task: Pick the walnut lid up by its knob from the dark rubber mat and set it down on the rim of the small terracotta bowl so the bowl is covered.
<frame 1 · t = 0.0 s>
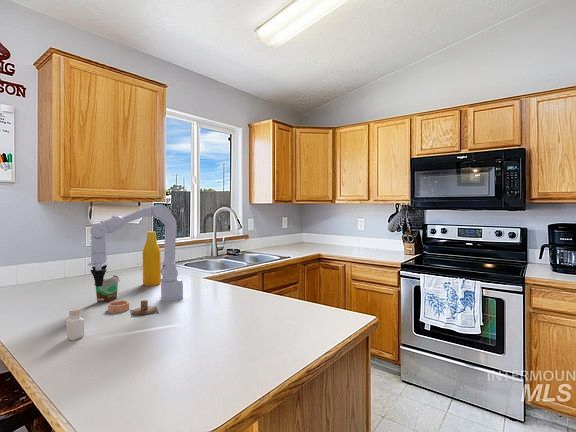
hand: (99, 284, 137), 10 cm above the counter, fingers open, 7 cm apart
food container: (110, 300, 150), on the counter
salt shaker: (75, 338, 107), on the counter
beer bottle: (152, 284, 180), on the counter
bowl: (118, 310, 134), on the counter
lid: (144, 311, 131), point 1 cm above the counter, touching mat
mat: (144, 313, 131), on the counter
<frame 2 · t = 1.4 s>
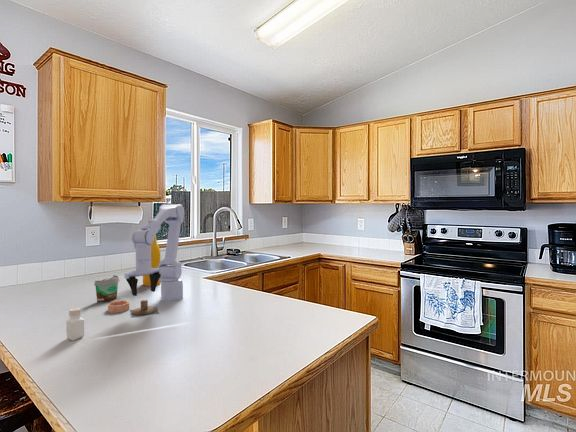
hand: (144, 293, 131), 8 cm above the counter, fingers open, 7 cm apart
nothing on the counter moved.
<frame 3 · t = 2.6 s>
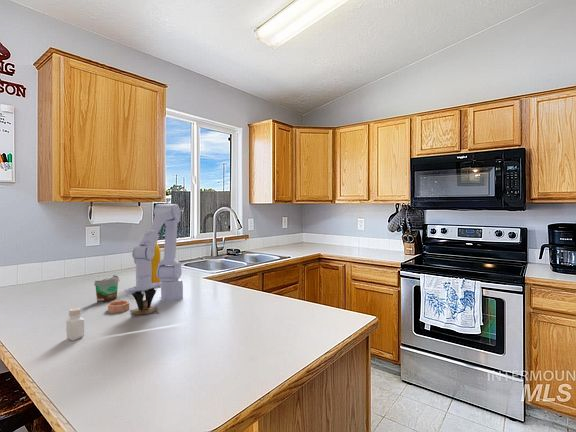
hand: (144, 308, 131), 2 cm above the counter, fingers closed on lid, 3 cm apart
lid: (144, 311, 131), point 1 cm above the counter, touching gripper, mat
everything else where it was.
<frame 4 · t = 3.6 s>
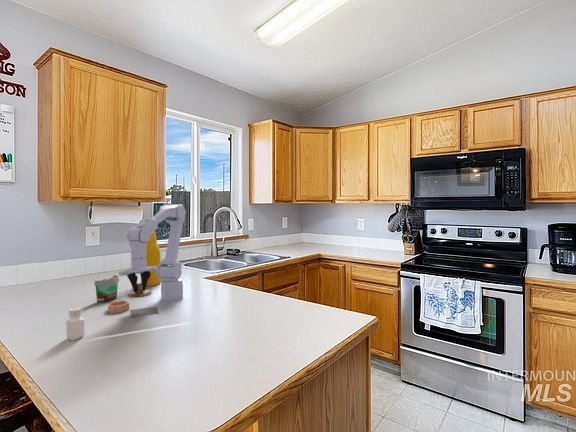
hand: (139, 291, 131), 9 cm above the counter, fingers closed on lid, 3 cm apart
lid: (139, 294, 131), point 7 cm above the counter, touching gripper
everything else where it was.
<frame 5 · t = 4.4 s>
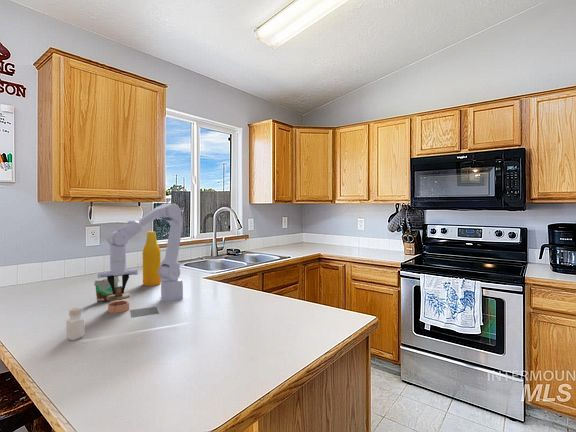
hand: (118, 293, 134), 7 cm above the counter, fingers closed on lid, 3 cm apart
lid: (118, 297, 133), point 6 cm above the counter, touching gripper
everything else where it was.
when the fingers open (5 cm above the counter, at t = 4.9 s): lid stays where it is, resting on bowl.
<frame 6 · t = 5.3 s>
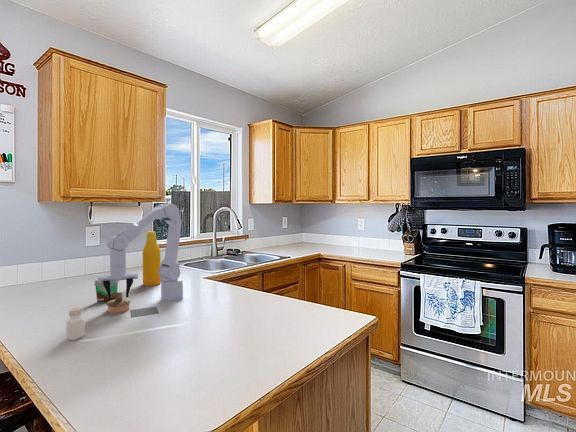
hand: (118, 297, 134), 5 cm above the counter, fingers open, 6 cm apart
lid: (118, 303, 134), point 3 cm above the counter, touching bowl
everything else where it was.
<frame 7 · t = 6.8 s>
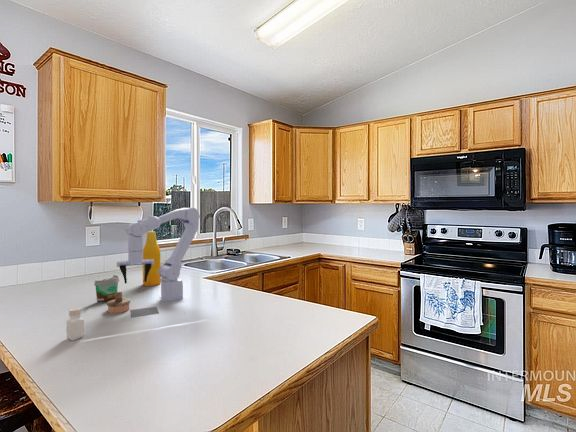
hand: (135, 282, 140), 10 cm above the counter, fingers open, 7 cm apart
nothing on the counter moved.
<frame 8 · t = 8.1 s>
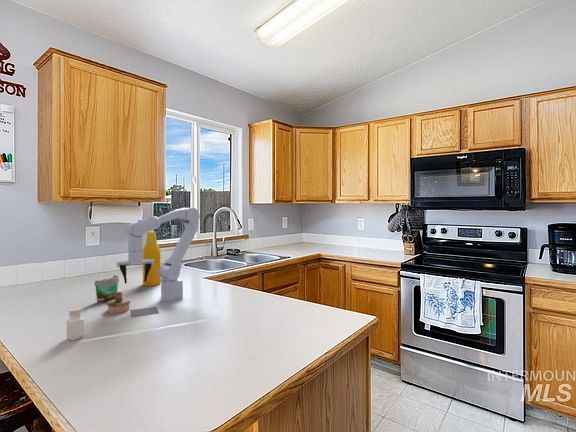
hand: (135, 282, 140), 10 cm above the counter, fingers open, 7 cm apart
nothing on the counter moved.
at the end: lid 0.3 cm off-centre on the bowl, point 3.2 cm above the bowl's base; lid tilted 0°; the gripper is holding nothing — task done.
